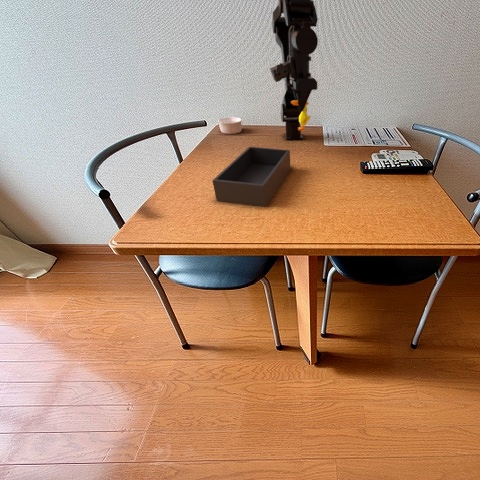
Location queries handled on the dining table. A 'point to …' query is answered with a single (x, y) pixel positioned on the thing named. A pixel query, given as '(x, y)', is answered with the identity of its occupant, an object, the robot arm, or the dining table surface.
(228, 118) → the ramekin
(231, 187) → the bin
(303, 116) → the toy figure
